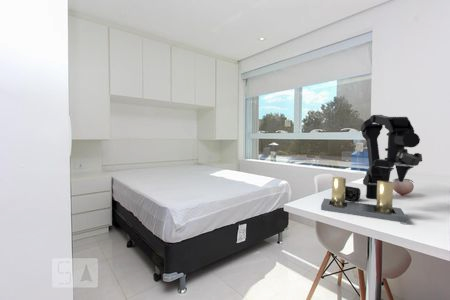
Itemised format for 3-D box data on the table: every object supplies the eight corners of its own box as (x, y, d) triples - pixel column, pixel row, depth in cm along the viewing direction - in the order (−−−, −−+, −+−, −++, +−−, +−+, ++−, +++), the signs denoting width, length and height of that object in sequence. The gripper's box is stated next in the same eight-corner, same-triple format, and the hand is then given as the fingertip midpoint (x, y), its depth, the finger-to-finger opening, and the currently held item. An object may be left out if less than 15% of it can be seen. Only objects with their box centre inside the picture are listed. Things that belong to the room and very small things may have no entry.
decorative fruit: (398, 197, 115) (398, 178, 115) (388, 193, 123) (389, 175, 123) (418, 198, 114) (419, 178, 113) (407, 194, 122) (408, 176, 122)
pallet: (320, 211, 92) (321, 205, 92) (324, 203, 103) (324, 198, 103) (406, 224, 79) (407, 217, 78) (400, 214, 89) (400, 208, 89)
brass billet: (374, 214, 87) (375, 181, 87) (378, 211, 90) (379, 180, 90) (389, 217, 83) (391, 183, 83) (393, 215, 87) (394, 181, 86)
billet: (331, 209, 94) (332, 178, 93) (331, 205, 98) (332, 176, 97) (344, 211, 91) (345, 179, 90) (344, 207, 96) (345, 177, 95)
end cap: (360, 201, 108) (361, 187, 108) (354, 203, 104) (355, 189, 103) (339, 196, 116) (339, 183, 115) (332, 199, 111) (333, 185, 111)
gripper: (402, 147, 84) (400, 188, 85) (432, 147, 91) (429, 184, 92) (373, 146, 95) (371, 182, 96) (402, 145, 101) (400, 179, 102)
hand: (393, 182), depth 96 cm, fingers open, 9 cm apart
